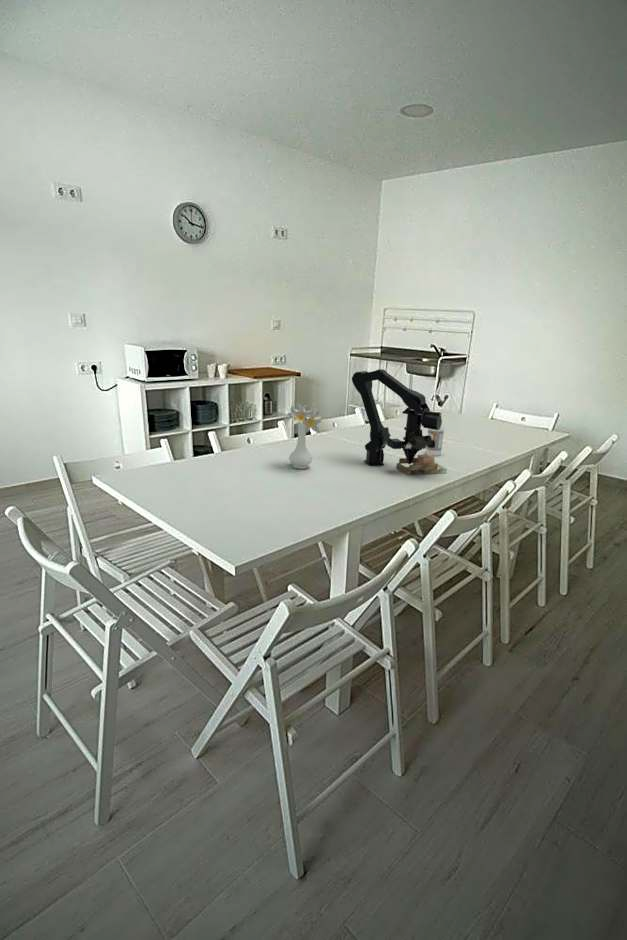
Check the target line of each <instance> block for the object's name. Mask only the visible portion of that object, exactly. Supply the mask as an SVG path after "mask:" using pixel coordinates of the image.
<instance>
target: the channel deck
mask: <svg viewBox="0 0 627 940" xmlns="http://www.w3.org/2000/svg"><path fill="white" fill-rule="evenodd" d="M403 464H408V462H407V459H406V457H402V458H400V457H399V459H398V462H397V463H396V469H397V470H399V471H401V472H402V473H404V474H405V475H406V476H411V475H421V474H422V475H437V474H442V475H443V474H447V473H448V468H447V467H445V466H443V465H441V464H439V463H438V462H437V461H434V464H417V457H414V459H413V461H412V463H411V464H409V466H405V465H403Z"/></svg>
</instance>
